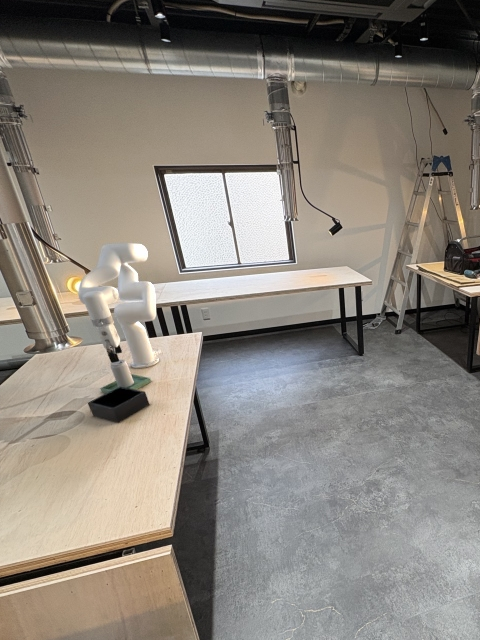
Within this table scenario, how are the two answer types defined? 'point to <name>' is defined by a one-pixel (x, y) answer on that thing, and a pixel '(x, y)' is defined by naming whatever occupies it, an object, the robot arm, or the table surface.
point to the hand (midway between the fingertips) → (116, 357)
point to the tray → (138, 383)
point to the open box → (118, 404)
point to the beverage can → (122, 374)
